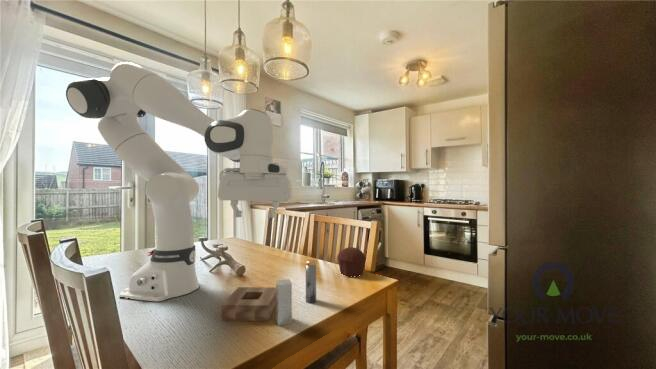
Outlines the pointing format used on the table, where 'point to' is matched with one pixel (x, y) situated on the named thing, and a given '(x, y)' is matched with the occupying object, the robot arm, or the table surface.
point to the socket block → (250, 304)
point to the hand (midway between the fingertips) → (254, 217)
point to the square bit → (283, 302)
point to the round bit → (310, 281)
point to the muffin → (351, 261)
